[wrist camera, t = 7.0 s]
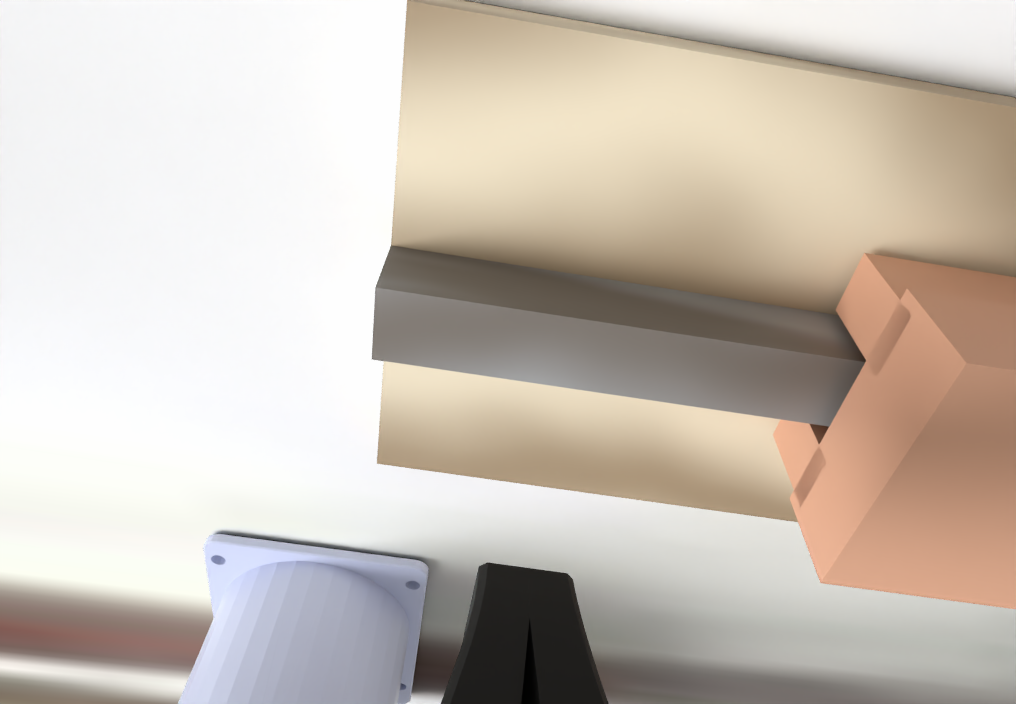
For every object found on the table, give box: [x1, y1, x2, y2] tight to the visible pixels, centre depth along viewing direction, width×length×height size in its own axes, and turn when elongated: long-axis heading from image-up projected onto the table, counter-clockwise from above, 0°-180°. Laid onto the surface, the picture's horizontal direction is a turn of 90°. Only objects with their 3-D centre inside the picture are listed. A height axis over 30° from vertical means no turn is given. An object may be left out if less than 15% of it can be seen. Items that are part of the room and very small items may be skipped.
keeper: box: [773, 253, 1016, 609], centre depth 17 cm, size 6×5×5 cm
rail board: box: [372, 0, 1016, 522], centre depth 18 cm, size 13×18×4 cm
